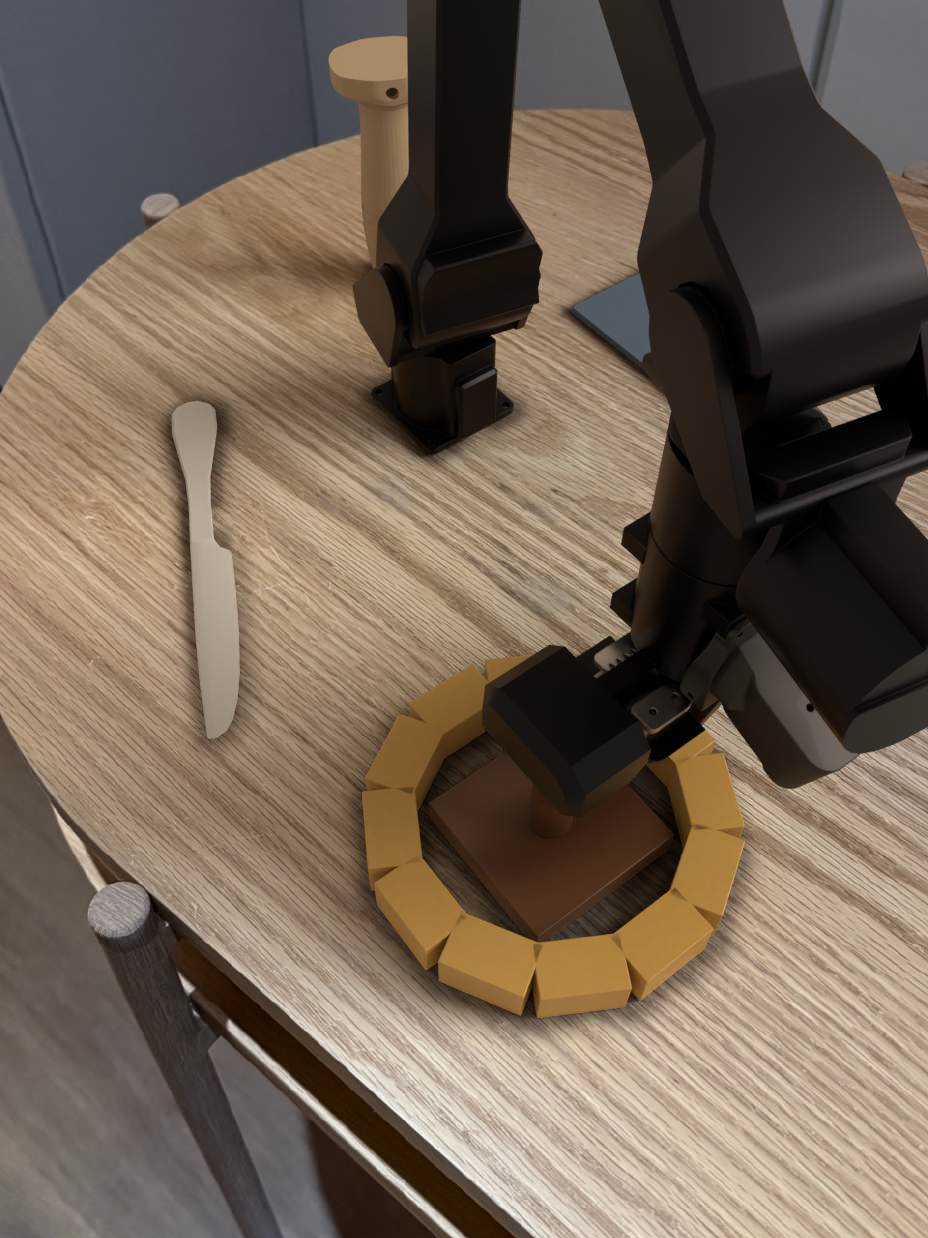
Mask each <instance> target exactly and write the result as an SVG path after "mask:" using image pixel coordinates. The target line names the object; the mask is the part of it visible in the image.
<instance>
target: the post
mask: <svg viewBox="0 0 928 1238" xmlns="http://www.w3.org/2000/svg"><path fill="white" fill-rule="evenodd" d="M427 805H428V818H429V820H430V822H432V823H433V824H434V826H435V827H436V828H437V830H438V831H439V832H440V833H441V834H442V835H443V837H444V838H445V839H446V841H447V842H448V843H449V844H450V846H451V847H452V848H453V849H454V850H455V852H456V853H457V854H458V855H459V856H460V858H461V860H463V862H464V863H465V864H466V865H467V867H468V868H469V869H470V870H471V871H472V873H473V874H474V875H475V876H476V878H477V879H478V880H479V881H480V883H481V884H482V885H483V886H484V888H485V889H486V890H487V891H488V892H489V894H490V895H491V896H492V897H493V899H494V900H495V901H496V903H497V904H498V906H500V908H501V909H502V910H503V911H504V913H506V915H507V916H508V918H509V919H510V920H511V921H512V922H513V924H514V925H515V926H516V927H517V929H518V930H519V931H520V932H521V934H522V935H523V937H525V938H528V939H530V940H533V941H535V942H538V943H540V942H548V941H551V939H553V938H555V936H556V935H557V934H559V933H561V932H562V931H563V930H565V929H566V928H567V927H568V926H570V925H571V924H572V923H574V922H575V921H576V920H578V918H581V917H582V916H583V915H584V914H586V913H587V912H589V910H591V909H592V908H594V907H595V906H596V905H598V904H599V903H600V902H602V901H603V900H604V899H606V898H607V897H608V896H610V895H611V894H612V893H614V891H616V890H618V889H619V888H620V887H621V886H623V885H625V883H627V882H628V881H629V880H631V879H632V878H633V877H634V876H636V875H638V874H639V873H640V872H641V871H642V870H644V869H645V868H647V867H648V866H650V865H651V864H653V862H654V861H656V860H657V859H658V858H660V857H661V856H662V855H664V854H665V853H666V852H668V851H669V850H670V849H671V846H672V843H673V841H674V837H675V833H674V832H673V831H672V830H671V829H670V828H669V827H668V826H667V824H665V823H664V821H663V820H662V819H661V818H659V816H658V815H657V814H656V813H655V812H654V811H653V810H652V809H651V807H649V806H648V804H647V803H646V802H645V801H644V800H643V799H642V798H641V797H640V796H639V795H638V793H636V792H635V790H634V789H633V788H631V786H630V785H629V784H627V785H626V786H624V787H623V788H622V789H620V790H619V791H617V792H616V793H615V794H613V795H612V796H610V797H609V798H608V799H606V800H605V801H603V802H602V803H601V804H599V805H598V806H596V807H595V808H594V809H592V810H591V811H590V812H588V813H587V814H585V815H584V816H583V817H574V816H566V815H561V814H560V813H559V812H558V811H557V810H556V809H555V807H554V806H553V805H552V804H551V803H550V802H549V801H548V800H547V798H546V797H545V796H544V795H543V794H542V793H541V792H540V791H539V789H538V788H537V787H536V786H535V785H534V784H533V783H532V781H531V780H530V779H529V778H528V777H527V776H526V775H525V774H524V772H523V771H522V770H521V769H520V768H519V767H518V766H517V765H516V763H515V762H514V761H513V760H512V759H511V758H510V757H509V755H508V754H507V753H506V752H505V751H504V752H502V753H501V754H499V755H498V756H496V757H495V758H492V760H491V761H489V762H488V763H485V764H484V765H483V766H481V767H479V768H478V769H477V770H475V771H474V772H471V774H470V775H468V776H466V777H465V778H463V779H462V780H460V781H459V782H457V783H456V784H455V785H453V786H451V787H450V788H449V789H447V790H445V791H444V792H442V793H441V794H439V795H438V796H436V797H435V798H433V799H432V800H431V801H429V802H428V804H427Z"/></svg>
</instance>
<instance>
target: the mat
mask: <svg viewBox="0 0 928 1238" xmlns="http://www.w3.org/2000/svg"><path fill="white" fill-rule="evenodd" d="M570 311H571V314H572V315H574V316H575V317H576V318H577V319H578V320H579V321H581V322H582V323H583V324H584V325H585V326H587V327H589V328H590V329H591V330H592V331H593V332H595V333H596V334H597V335H598V336H600V337H601V338H602V339H603V340H605V341H606V342H607V343H608V344H610V345H611V346H612V347H613V348H614V349H616V350H617V351H619V353H621V354H622V355H623V356H625V357H626V358H627V359H628V360H630V362H632V363H633V364H634V365H636V366H637V367H638V368H639V369H641V370H642V371H644V372H645V370H644V368H643V365H642V360H643V356H644V355H645V354H646V353H648V352H651V349H650V341H649V312H648V307H647V303H646V299H645V294H644V290H643V286H642V282H641V277H640V273H639V272H638V273H636V274H634V275H631V276H630V277H628V278H626V279H624V280H622V281H620V282H618V283H617V284H615V285H612V286H611V287H608V288H607V289H604V290H602V291H600V292H598V293H597V294H594V295H592V296H591V297H588V298H587V299H585V300H583V301H581V302H579V303H576V304H574V305H572V306H571V310H570Z"/></svg>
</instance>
